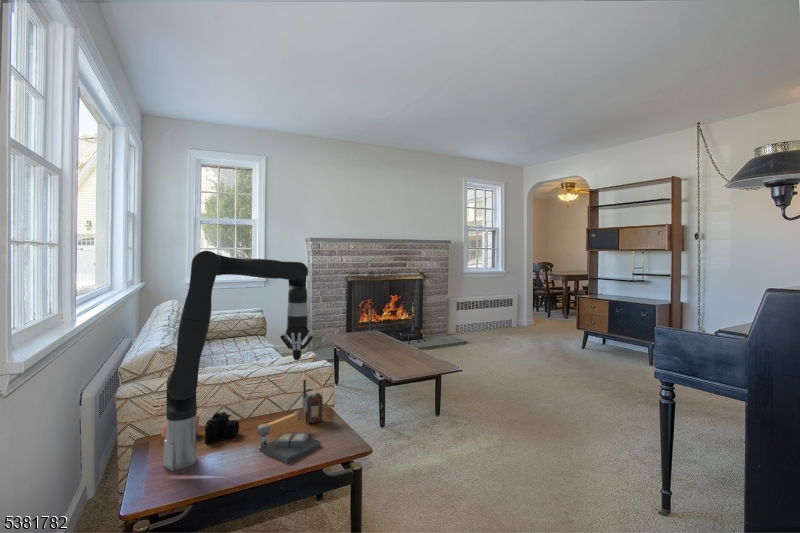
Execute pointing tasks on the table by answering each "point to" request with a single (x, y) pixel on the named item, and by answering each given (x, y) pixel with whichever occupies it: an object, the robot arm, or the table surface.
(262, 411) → the table surface
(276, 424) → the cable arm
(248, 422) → the table surface
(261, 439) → the post
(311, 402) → the walkie-talkie
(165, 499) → the table surface
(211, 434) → the film camera
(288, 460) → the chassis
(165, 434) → the sugar bowl
